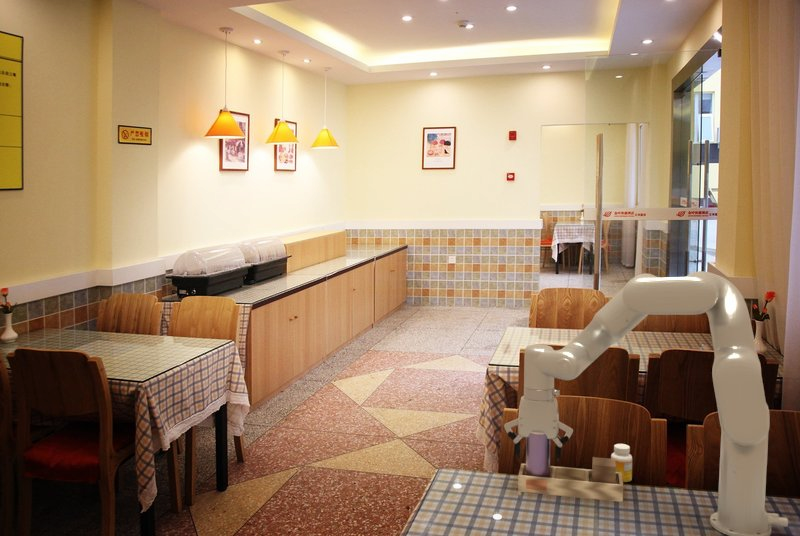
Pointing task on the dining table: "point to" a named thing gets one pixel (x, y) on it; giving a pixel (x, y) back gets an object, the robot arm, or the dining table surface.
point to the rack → (570, 484)
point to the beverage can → (537, 455)
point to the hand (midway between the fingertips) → (537, 458)
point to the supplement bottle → (623, 461)
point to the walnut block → (604, 470)
